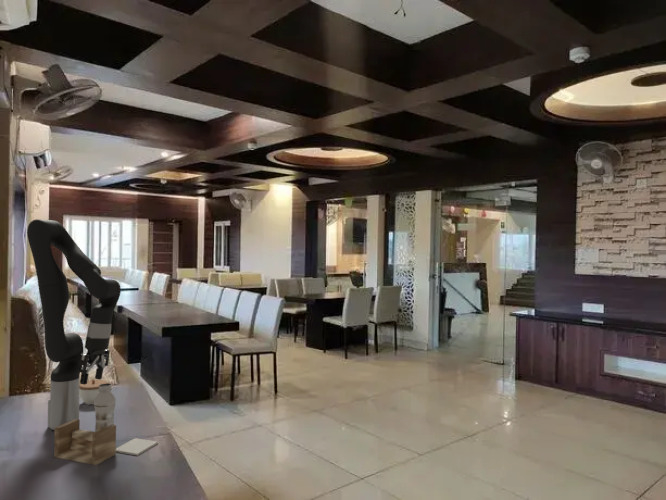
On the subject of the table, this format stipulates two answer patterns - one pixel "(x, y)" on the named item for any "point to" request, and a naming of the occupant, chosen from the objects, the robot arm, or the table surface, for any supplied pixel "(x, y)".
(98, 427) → the plastic bottle
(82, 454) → the offcut rack
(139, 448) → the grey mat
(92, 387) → the lidded jar
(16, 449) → the table surface
